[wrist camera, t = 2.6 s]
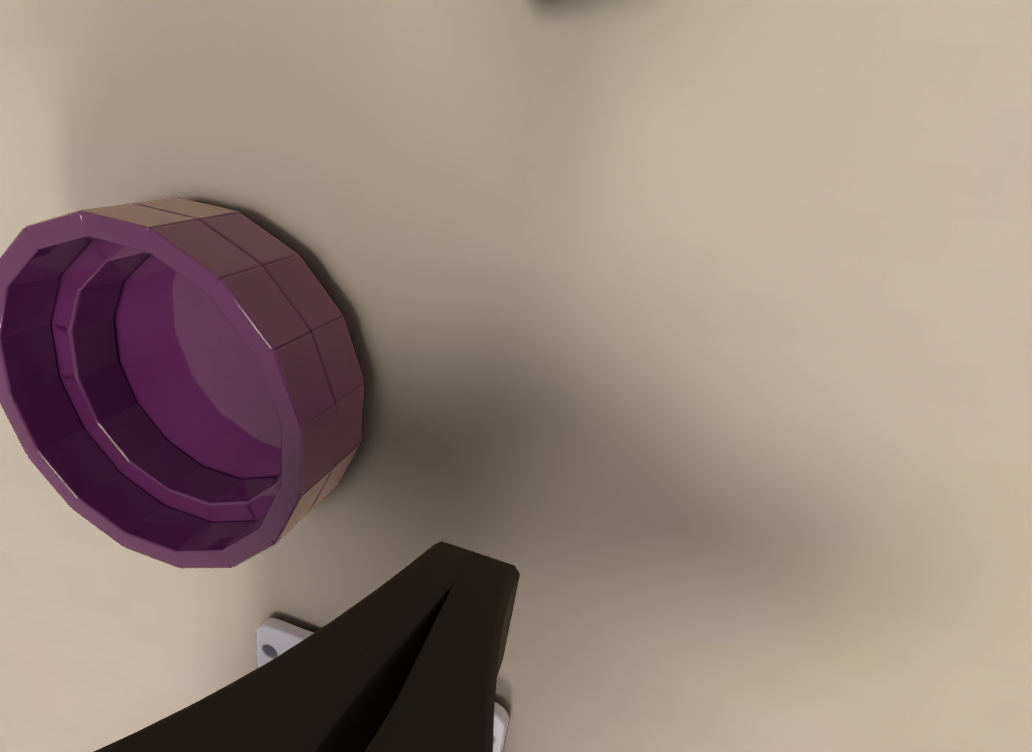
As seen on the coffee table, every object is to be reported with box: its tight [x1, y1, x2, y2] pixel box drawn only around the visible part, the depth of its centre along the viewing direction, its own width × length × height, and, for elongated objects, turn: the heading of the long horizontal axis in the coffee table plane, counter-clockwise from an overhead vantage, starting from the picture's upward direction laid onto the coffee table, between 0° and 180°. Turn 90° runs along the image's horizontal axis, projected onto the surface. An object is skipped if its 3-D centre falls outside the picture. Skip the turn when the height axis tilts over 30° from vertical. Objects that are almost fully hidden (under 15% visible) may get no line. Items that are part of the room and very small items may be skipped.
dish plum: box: [0, 198, 364, 568], centre depth 15 cm, size 8×8×3 cm
